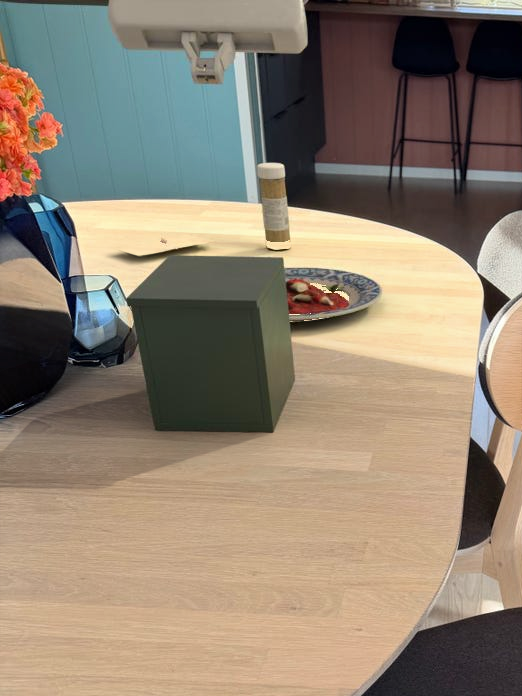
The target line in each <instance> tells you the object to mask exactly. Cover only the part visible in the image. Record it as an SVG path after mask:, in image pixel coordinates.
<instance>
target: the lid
mask: <svg viewBox="0 0 522 696" xmlns="http://www.w3.org/2000/svg"><path fill="white" fill-rule="evenodd" d="M283 265H284V266H285V259H284V257H283V256H282V257H277V256H234V255H233V256H232V255H231V256H230V255H227V256H225V255H223V256H222V255H185V254H184V255H181V254H180V255H179V254H178V255H177V254H174V255H173V254H169V255H168V256H167V257H166V258H165V259H164V260H163V261H162V262H161V263H160V264H159V265H158V266H157V267H156V268H155V269H154V270H153V271H152V272H151V273H150V274H149V275H148V276H147V277H146V278H145V279H144V280H143V281H142V282H141V283H140V284H139V285H138V286H137V287H136V288H134V290H133V291H132V292H131V293H130V294H129V295H128V296H127V297H126V298H125V300H126V306H127V307H131V306H135V307H188V308H241V309H257V308H258V307H259V305H260V303H261V302H262V300H263V298H264V297H265V295H266V293H267V292H268V290H269V288H270V287H271V285H272V283H273V282H274V280H275V278H276V277H277V275H278V274H279V272H280V270H281V269H282V267H283Z"/></svg>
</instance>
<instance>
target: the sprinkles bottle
mask: <svg viewBox="0 0 522 696" xmlns="http://www.w3.org/2000/svg"><path fill="white" fill-rule="evenodd" d="M256 169H257V177H258V180H259V189H260V199H261V200H260V201H261V212H262V221H263V228H264V234H265V241H266V240H267V241H270V242H285V241H288V240H290V241H291V234H290V228H291V227H290V217H289V207H288V197H287V189H286V182H285V180H286V178H285V177H286V170H285V169H286V168H285V165H284V164H282V163H281V162H263V163H259V164H257V166H256Z"/></svg>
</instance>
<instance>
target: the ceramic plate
mask: <svg viewBox="0 0 522 696" xmlns="http://www.w3.org/2000/svg"><path fill="white" fill-rule="evenodd" d="M284 269H285V280H286V290H287V300H288V310H289V314H300V315H289V321H304V320H312V319H319V318H327V317H332V318H334V317H333V316H335V317H338V316H342V315H347V314H351V313H356V312H357V311H358V312H359V311H361V310H363V309H366V308H368V307H370V306H372V305H374V304H375V303H377V302H378V301H379V300H380V299H381V298H382V295H383V288H382V286H381V285H380V284H379V283H378V282H377V281H375V280H374V279H372V278H370V277H368V276H365V275H363V274H359V273H356V272H352V271H346V270H342V269H333V268H321V267H284ZM310 283H316V284H317V283H318V284H321V285H326V286H322V287H326V288H327V289H328V290H329V291H331V292H332V293H324V291H326V290H323V291H322V290H321V289H318V288H317V287H315V286H313V285H310ZM337 288H338V289H337ZM336 289H337V290H336ZM335 291H341V292H342V291H343V292H344V293H346V294H347V295H348V296H349V301H348V300H346V299H345V298H344V297H342V296H340V294H338V293H334V292H335ZM310 313H311V314H310Z"/></svg>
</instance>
